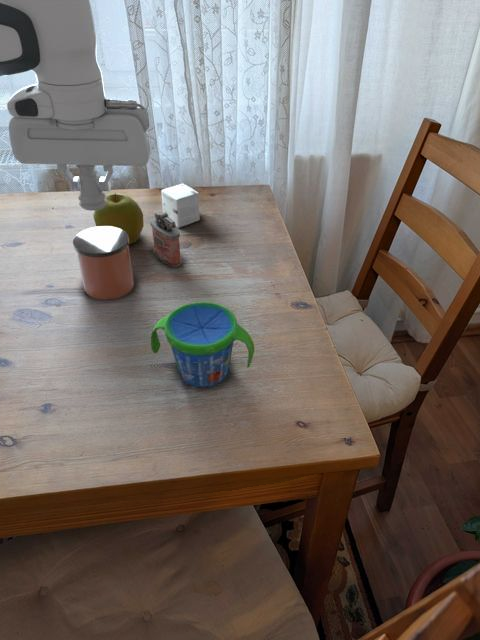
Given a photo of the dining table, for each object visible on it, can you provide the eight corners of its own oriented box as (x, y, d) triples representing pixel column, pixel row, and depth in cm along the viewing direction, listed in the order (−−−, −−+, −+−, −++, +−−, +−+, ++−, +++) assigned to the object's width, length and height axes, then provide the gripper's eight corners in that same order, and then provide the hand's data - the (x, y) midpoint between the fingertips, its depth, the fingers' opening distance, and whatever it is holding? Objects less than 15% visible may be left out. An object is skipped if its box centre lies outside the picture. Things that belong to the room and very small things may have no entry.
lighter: (150, 253, 107) (145, 208, 101) (164, 248, 109) (160, 204, 102) (171, 271, 103) (167, 225, 96) (185, 266, 105) (183, 220, 98)
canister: (79, 303, 94) (67, 253, 87) (88, 274, 101) (78, 225, 94) (132, 303, 95) (124, 253, 88) (138, 274, 102) (131, 226, 95)
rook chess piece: (113, 202, 87) (105, 155, 82) (96, 213, 84) (87, 165, 79) (91, 196, 88) (82, 149, 83) (73, 207, 85) (63, 159, 80)
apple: (89, 239, 111) (80, 190, 103) (130, 225, 116) (123, 178, 108) (113, 259, 105) (105, 209, 98) (155, 244, 110) (149, 195, 103)
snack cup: (142, 384, 80) (134, 333, 73) (171, 341, 87) (166, 291, 80) (239, 409, 77) (240, 358, 70) (260, 362, 84) (263, 313, 78)
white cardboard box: (163, 220, 118) (160, 189, 113) (185, 212, 121) (183, 182, 116) (178, 231, 115) (176, 199, 110) (200, 223, 118) (199, 192, 113)
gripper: (149, 94, 78) (157, 182, 88) (8, 90, 77) (31, 180, 86) (144, 107, 74) (153, 199, 83) (-6, 103, 72) (21, 197, 81)
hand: (90, 189), depth 84 cm, fingers closed on rook chess piece, 3 cm apart
